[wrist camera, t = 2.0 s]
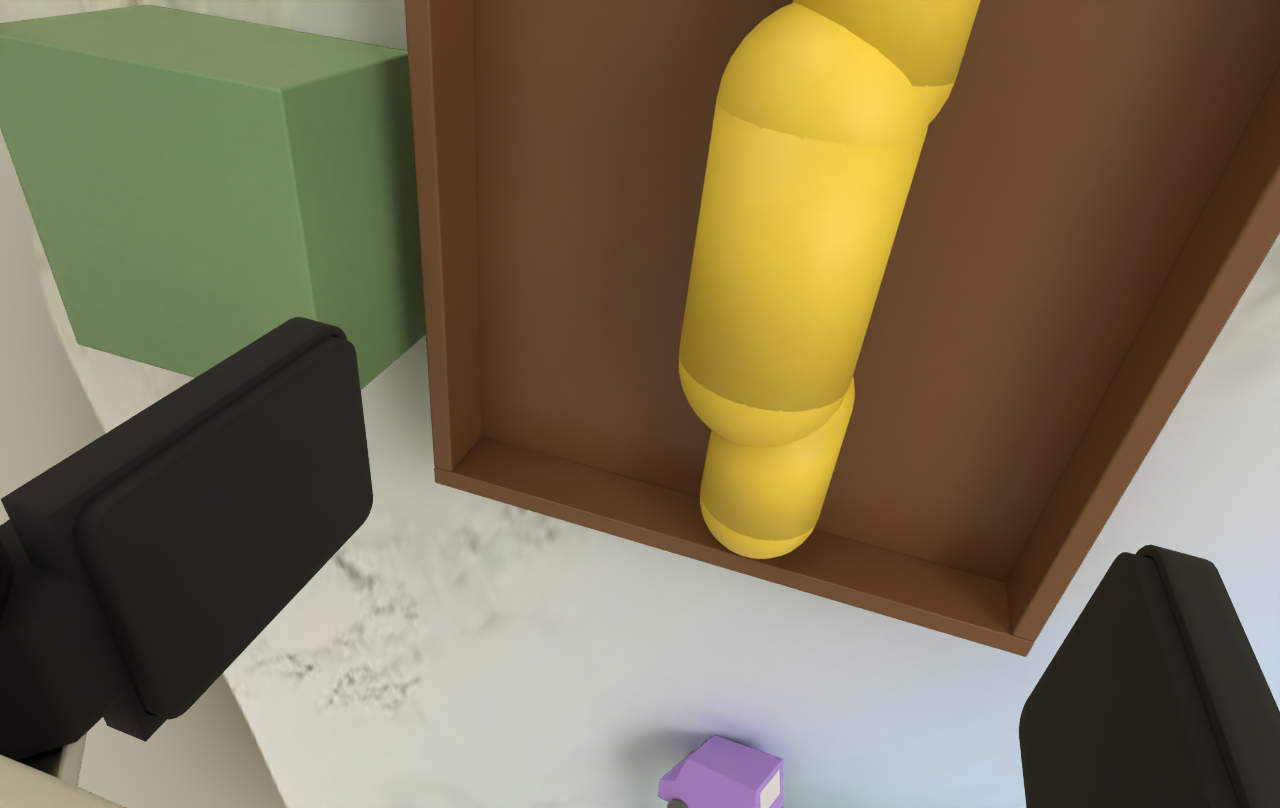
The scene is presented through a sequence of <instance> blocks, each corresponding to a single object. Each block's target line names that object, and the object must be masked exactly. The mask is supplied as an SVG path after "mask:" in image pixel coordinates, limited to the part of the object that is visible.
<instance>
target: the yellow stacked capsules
mask: <svg viewBox="0 0 1280 808" xmlns="http://www.w3.org/2000/svg"><path fill="white" fill-rule="evenodd" d="M980 1H981V0H793V3H792V4H789V5H787V6H785V7H782V8H780V9H779V10H777V11H776V12H774V13H773V14H771V15H770V16H768V17H767V18H765V19H764V20H762V21H761V22H760V23H759V24H758V25H757V26H756V27H755V28H754V29H753V30H752V31H751V32H750V33H749V34H748V35H747V36H746V37H745V38H744V39H743V41H742V42H741V44H740V45H739V46H738V48H737V49H736V51H735V52H734V54H733V55H732V56H731V58H730V61H729V63H728V65H727V67H726V69H725V72H724V74H723V76H722V79H721V83H720V87H719V91H718V95H717V100H716V107H715V113H714V120H713V127H712V133H711V140H710V147H709V153H708V160H707V167H706V173H705V180H704V187H703V194H702V200H701V207H700V214H699V220H698V227H697V234H696V240H695V247H694V254H693V260H692V267H691V274H690V280H689V287H688V294H687V301H686V307H685V314H684V321H683V327H682V334H681V341H680V347H679V375H680V380H681V385H682V388H683V391H684V394H685V396H686V398H687V400H688V402H689V404H690V406H691V407H692V409H693V410H694V412H695V413H696V414H697V416H698V417H699V418H700V419H701V420H702V421H703V422H704V423H705V424H706V425H707V426H708V427H709V428H710V429H712V430H711V435H710V440H709V445H708V451H707V456H706V461H705V466H704V472H703V477H702V482H701V488H700V506H701V511H702V514H703V518H704V521H705V522H706V524H707V526H708V528H709V530H710V532H711V533H712V534H713V536H714V537H715V538H716V539H717V540H718V541H719V542H720V543H721V544H722V545H724V546H725V547H726V548H727V549H729V550H731V551H732V552H734V553H737V554H739V555H741V556H745V557H749V558H755V559H768V558H773V557H778V556H782V555H784V554H787V553H790V552H792V551H794V550H795V549H796V548H797V547H798V546H800V545H801V544H802V543H803V542H804V541H805V540H806V538H807V537H808V536H809V535H810V534H811V533H812V531H813V529H814V527H815V525H816V523H817V521H818V519H819V516H820V512H821V509H822V506H823V503H824V500H825V496H826V493H827V490H828V487H829V484H830V480H831V477H832V474H833V471H834V468H835V464H836V461H837V458H838V455H839V452H840V448H841V445H842V442H843V439H844V436H845V432H846V429H847V426H848V423H849V420H850V416H851V413H852V410H853V405H854V399H855V386H854V378H853V374H854V370H855V367H856V364H857V360H858V357H859V354H860V351H861V347H862V344H863V341H864V337H865V334H866V331H867V327H868V324H869V321H870V318H871V314H872V311H873V308H874V304H875V301H876V298H877V295H878V291H879V288H880V285H881V281H882V278H883V275H884V271H885V268H886V265H887V262H888V258H889V255H890V252H891V248H892V245H893V242H894V239H895V235H896V232H897V229H898V225H899V222H900V219H901V215H902V212H903V209H904V206H905V202H906V199H907V196H908V192H909V189H910V186H911V183H912V179H913V176H914V173H915V169H916V166H917V163H918V159H919V156H920V153H921V150H922V146H923V143H924V140H925V136H926V133H927V129H928V124H929V123H930V122H931V121H932V120H933V119H934V118H935V117H936V116H937V114H938V113H939V111H940V110H941V108H942V107H943V105H944V104H945V102H946V100H947V99H948V97H949V95H950V92H951V90H952V88H953V85H954V83H955V81H956V77H957V74H958V71H959V68H960V65H961V61H962V58H963V55H964V52H965V49H966V45H967V42H968V39H969V36H970V33H971V29H972V26H973V23H974V20H975V17H976V13H977V10H978V7H979V4H980Z"/></svg>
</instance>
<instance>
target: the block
mask: <svg viewBox="0 0 1280 808" xmlns="http://www.w3.org/2000/svg"><path fill="white" fill-rule="evenodd" d="M0 128H1V131H2V134H3V136H4V139H5V142H6V145H7V148H8V150H9V153H10V156H11V159H12V161H13V164H14V167H15V170H16V173H17V175H18V178H19V181H20V184H21V186H22V189H23V192H24V195H25V198H26V200H27V203H28V206H29V209H30V212H31V214H32V217H33V220H34V223H35V226H36V228H37V231H38V234H39V237H40V240H41V242H42V245H43V248H44V251H45V253H46V256H47V259H48V262H49V265H50V267H51V270H52V273H53V276H54V279H55V281H56V284H57V287H58V290H59V292H60V295H61V298H62V301H63V304H64V306H65V309H66V312H67V315H68V318H69V320H70V323H71V326H72V329H73V331H74V334H75V337H76V340H77V343H78V344H79V345H83V346H86V347H90V348H93V349H97V350H100V351H104V352H107V353H111V354H114V355H118V356H121V357H125V358H128V359H132V360H135V361H139V362H142V363H146V364H149V365H153V366H156V367H160V368H163V369H167V370H170V371H174V372H177V373H181V374H185V375H188V376H192V377H195V378H196V377H198V376H199V375H201V374H202V373H204V372H206V371H207V370H209V369H210V368H212V367H214V366H215V365H217V364H218V363H220V362H222V361H223V360H225V359H226V358H228V357H230V356H231V355H233V354H234V353H236V352H238V351H239V350H241V349H243V348H244V347H246V346H247V345H249V344H251V343H252V342H254V341H255V340H257V339H259V338H260V337H262V336H263V335H265V334H267V333H268V332H270V331H271V330H273V329H275V328H276V327H278V326H279V325H281V324H283V323H284V322H286V321H287V320H289V319H292V318H294V317H304V318H307V319H311V320H315V321H318V322H322V323H326V324H330V325H333V326H337V327H339V328H340V329H342V330H343V331H344V333H345V334H346V336H347V340H348V341H349V342H351V343H352V344H353V345H354V347H355V350H356V355H357V363H358V372H359V381H360V389H363V388H364V387H365V386H366V385H367V384H368V383H370V382H371V381H372V380H373V379H374V378H375V377H377V376H378V375H379V374H380V373H381V372H382V371H384V370H385V369H386V368H387V367H388V366H389V365H391V364H392V363H393V362H394V361H395V360H396V359H398V358H399V357H400V356H401V355H402V354H403V353H405V352H406V351H407V350H408V349H409V348H410V347H411V346H413V345H414V344H415V343H416V342H417V341H418V340H420V339H421V338H422V337H423V336H424V335H425V334H426V326H425V310H424V295H423V279H422V264H421V248H420V233H419V217H418V202H417V186H416V171H415V155H414V140H413V124H412V109H411V93H410V78H409V62H408V51H404V50H399V49H393V48H387V47H382V46H376V45H371V44H365V43H360V42H354V41H348V40H343V39H337V38H332V37H326V36H320V35H315V34H309V33H304V32H298V31H293V30H287V29H281V28H276V27H270V26H265V25H259V24H253V23H248V22H242V21H237V20H231V19H226V18H220V17H214V16H209V15H203V14H198V13H192V12H186V11H181V10H175V9H170V8H164V7H159V6H153V5H141V6H133V7H126V8H118V9H110V10H102V11H94V12H86V13H78V14H70V15H63V16H55V17H47V18H39V19H31V20H23V21H15V22H7V23H0Z"/></svg>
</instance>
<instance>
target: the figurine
mask: <svg viewBox="0 0 1280 808" xmlns="http://www.w3.org/2000/svg"><path fill="white" fill-rule="evenodd" d="M658 797H660V798H662V799H664V800H666V801H668V802H670V803H669V804H668V805H667V808H783V759H781V758H779V757H776V756H773V755H770V754H767V753H764V752H761V751H759V750H756V749H753V748H750V747H747V746H744V745H741V744H739V743H736V742H733V741H730V740H727V739H724V738H721V737H719V736H716V735H714V736H713V737H712V738H711V739H710V740H709V741H705V742H704V743H703V744H702V745H701V747H700V748H699V749H698V750H697V751H696V752H691V753H690V754H689V755H688V756H687V757H685V758H684V759H683V760H682V761H681V762H680V763H678V764H677V765H676V766H675V767H674V768H673V769H672V770H670V771H669V772H668V773H667V774H666V775H665V776H663V777H662V778H661V779H660V783H659V792H658Z"/></svg>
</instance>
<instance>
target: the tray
mask: <svg viewBox="0 0 1280 808" xmlns="http://www.w3.org/2000/svg"><path fill="white" fill-rule="evenodd" d="M792 3H793V0H405V15H406V31H407V46H408V62H409V78H410V93H411V109H412V124H413V140H414V155H415V171H416V186H417V202H418V217H419V233H420V248H421V264H422V279H423V295H424V310H425V326H426V341H427V357H428V373H429V388H430V404H431V419H432V435H433V450H434V466H435V468H434V471H435V482H436V483H439V484H442V485H446V486H449V487H452V488H456V489H459V490H463V491H466V492H469V493H473V494H476V495H479V496H483V497H486V498H490V499H493V500H496V501H500V502H503V503H507V504H510V505H513V506H517V507H520V508H523V509H527V510H530V511H534V512H537V513H540V514H544V515H547V516H551V517H554V518H557V519H561V520H564V521H567V522H571V523H574V524H578V525H581V526H584V527H588V528H591V529H595V530H598V531H601V532H605V533H608V534H611V535H615V536H618V537H622V538H625V539H628V540H632V541H635V542H639V543H642V544H645V545H649V546H652V547H655V548H659V549H662V550H666V551H669V552H672V553H676V554H679V555H682V556H686V557H689V558H693V559H696V560H699V561H703V562H706V563H710V564H713V565H716V566H720V567H723V568H726V569H730V570H733V571H737V572H740V573H743V574H747V575H750V576H754V577H757V578H760V579H764V580H767V581H770V582H774V583H777V584H781V585H784V586H787V587H791V588H794V589H798V590H801V591H804V592H808V593H811V594H814V595H818V596H821V597H825V598H828V599H831V600H835V601H838V602H842V603H845V604H848V605H852V606H855V607H858V608H862V609H865V610H869V611H872V612H875V613H879V614H882V615H886V616H889V617H892V618H896V619H899V620H902V621H906V622H909V623H913V624H916V625H919V626H923V627H926V628H930V629H933V630H936V631H940V632H943V633H946V634H950V635H953V636H957V637H960V638H963V639H967V640H970V641H974V642H977V643H980V644H984V645H987V646H990V647H994V648H997V649H1001V650H1004V651H1007V652H1011V653H1014V654H1018V655H1021V656H1024V657H1026V656H1027V654H1028V653H1029V651H1030V649H1031V648H1032V646H1033V644H1034V641H1035V640H1036V639H1037V637H1038V635H1039V634H1040V632H1041V630H1042V629H1043V627H1044V625H1045V624H1046V622H1047V620H1048V619H1049V617H1050V615H1051V614H1052V612H1053V610H1054V609H1055V607H1056V605H1057V604H1058V602H1059V600H1060V599H1061V597H1062V595H1063V594H1064V592H1065V590H1066V589H1067V587H1068V585H1069V584H1070V582H1071V580H1072V579H1073V577H1074V575H1075V574H1076V572H1077V570H1078V569H1079V567H1080V565H1081V564H1082V562H1083V560H1084V559H1085V557H1086V555H1087V554H1088V552H1089V550H1090V549H1091V547H1092V545H1093V544H1094V542H1095V540H1096V539H1097V537H1098V535H1099V534H1100V532H1101V530H1102V529H1103V527H1104V525H1105V524H1106V522H1107V520H1108V519H1109V517H1110V515H1111V514H1112V512H1113V510H1114V509H1115V507H1116V505H1117V504H1118V502H1119V500H1120V499H1121V497H1122V495H1123V494H1124V492H1125V490H1126V489H1127V487H1128V485H1129V484H1130V482H1131V480H1132V479H1133V477H1134V475H1135V474H1136V472H1137V470H1138V469H1139V467H1140V465H1141V464H1142V462H1143V460H1144V459H1145V457H1146V455H1147V454H1148V452H1149V450H1150V449H1151V447H1152V445H1153V444H1154V442H1155V440H1156V439H1157V437H1158V435H1159V434H1160V432H1161V430H1162V429H1163V427H1164V425H1165V424H1166V422H1167V420H1168V419H1169V417H1170V415H1171V414H1172V412H1173V410H1174V409H1175V407H1176V405H1177V404H1178V402H1179V400H1180V399H1181V397H1182V395H1183V394H1184V392H1185V390H1186V389H1187V387H1188V385H1189V384H1190V382H1191V380H1192V379H1193V377H1194V375H1195V374H1196V372H1197V370H1198V369H1199V367H1200V365H1201V364H1202V362H1203V360H1204V359H1205V357H1206V355H1207V354H1208V352H1209V350H1210V349H1211V347H1212V345H1213V344H1214V342H1215V340H1216V339H1217V337H1218V335H1219V334H1220V332H1221V330H1222V329H1223V327H1224V325H1225V324H1226V322H1227V320H1228V319H1229V317H1230V315H1231V314H1232V312H1233V310H1234V309H1235V307H1236V305H1237V304H1238V302H1239V300H1240V299H1241V297H1242V295H1243V294H1244V292H1245V290H1246V289H1247V287H1248V285H1249V284H1250V282H1251V280H1252V279H1253V277H1254V275H1255V274H1256V272H1257V270H1258V269H1259V267H1260V265H1261V264H1262V262H1263V260H1264V259H1265V257H1266V255H1267V254H1268V252H1269V250H1270V249H1271V247H1272V245H1273V243H1274V242H1275V240H1276V238H1277V237H1278V235H1279V233H1280V0H981V1H980V4H979V7H978V10H977V13H976V17H975V20H974V23H973V26H972V29H971V33H970V36H969V39H968V42H967V45H966V49H965V52H964V55H963V58H962V61H961V65H960V68H959V71H958V74H957V77H956V81H955V83H954V85H953V88H952V90H951V92H950V95H949V97H948V99H947V100H946V102H945V104H944V105H943V107H942V108H941V110H940V111H939V113H938V114H937V116H936V117H935V118H934V119H933V120H932V121H931V122H930V123H929V124H928V129H927V133H926V136H925V140H924V143H923V146H922V150H921V153H920V156H919V159H918V163H917V166H916V169H915V173H914V176H913V179H912V183H911V186H910V189H909V192H908V196H907V199H906V202H905V206H904V209H903V212H902V215H901V219H900V222H899V225H898V229H897V232H896V235H895V239H894V242H893V245H892V248H891V252H890V255H889V258H888V262H887V265H886V268H885V271H884V275H883V278H882V281H881V285H880V288H879V291H878V295H877V298H876V301H875V304H874V308H873V311H872V314H871V318H870V321H869V324H868V327H867V331H866V334H865V337H864V341H863V344H862V347H861V351H860V354H859V357H858V360H857V364H856V367H855V370H854V374H853V378H854V386H855V399H854V405H853V410H852V413H851V416H850V420H849V423H848V426H847V429H846V432H845V436H844V439H843V442H842V445H841V448H840V452H839V455H838V458H837V461H836V464H835V468H834V471H833V474H832V477H831V480H830V484H829V487H828V490H827V493H826V496H825V500H824V503H823V506H822V509H821V512H820V516H819V519H818V521H817V523H816V525H815V527H814V529H813V531H812V533H811V534H810V535H809V536H808V537H807V538H806V540H805V541H804V542H803V543H802V544H801V545H800V546H798V547H797V548H796V549H795V550H794V551H792V552H790V553H787V554H784V555H782V556H778V557H773V558H768V559H755V558H749V557H745V556H741V555H739V554H737V553H734V552H732V551H731V550H729V549H727V548H726V547H725V546H724V545H722V544H721V543H720V542H719V541H718V540H717V539H716V538H715V537H714V536H713V534H712V533H711V532H710V530H709V528H708V526H707V524H706V522H705V521H704V518H703V514H702V511H701V506H700V488H701V482H702V477H703V472H704V466H705V461H706V456H707V451H708V445H709V440H710V435H711V430H712V429H710V428H709V427H708V426H707V425H706V424H705V423H704V422H703V421H702V420H701V419H700V418H699V417H698V416H697V414H696V413H695V412H694V410H693V409H692V407H691V406H690V404H689V402H688V400H687V398H686V396H685V394H684V391H683V388H682V385H681V380H680V375H679V347H680V341H681V334H682V327H683V321H684V314H685V307H686V301H687V294H688V287H689V280H690V274H691V267H692V260H693V254H694V247H695V240H696V234H697V227H698V220H699V214H700V207H701V200H702V194H703V187H704V180H705V173H706V167H707V160H708V153H709V147H710V140H711V133H712V127H713V120H714V113H715V107H716V100H717V95H718V91H719V87H720V83H721V79H722V76H723V74H724V72H725V69H726V67H727V65H728V63H729V61H730V58H731V56H732V55H733V54H734V52H735V51H736V49H737V48H738V46H739V45H740V44H741V42H742V41H743V39H744V38H745V37H746V36H747V35H748V34H749V33H750V32H751V31H752V30H753V29H754V28H755V27H756V26H757V25H758V24H759V23H760V22H761V21H762V20H764V19H765V18H767V17H768V16H770V15H771V14H773V13H774V12H776V11H777V10H779V9H780V8H782V7H785V6H787V5H789V4H792Z"/></svg>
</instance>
